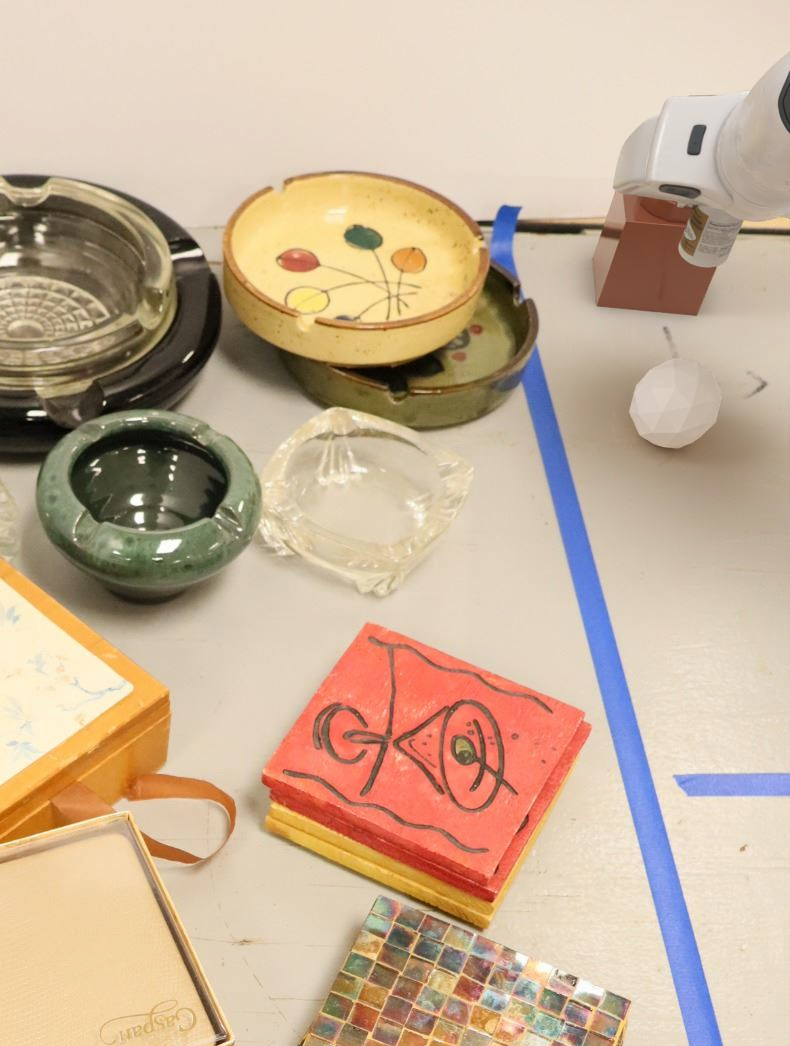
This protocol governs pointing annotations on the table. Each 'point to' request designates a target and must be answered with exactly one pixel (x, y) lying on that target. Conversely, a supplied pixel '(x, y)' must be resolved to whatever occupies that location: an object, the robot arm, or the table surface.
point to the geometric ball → (675, 403)
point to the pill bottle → (708, 236)
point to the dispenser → (647, 259)
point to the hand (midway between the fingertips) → (720, 203)
